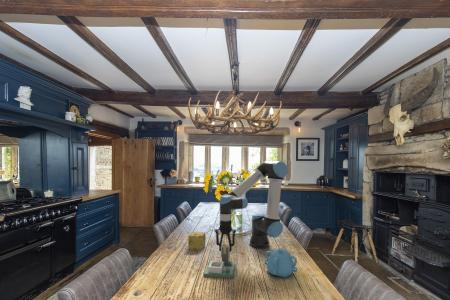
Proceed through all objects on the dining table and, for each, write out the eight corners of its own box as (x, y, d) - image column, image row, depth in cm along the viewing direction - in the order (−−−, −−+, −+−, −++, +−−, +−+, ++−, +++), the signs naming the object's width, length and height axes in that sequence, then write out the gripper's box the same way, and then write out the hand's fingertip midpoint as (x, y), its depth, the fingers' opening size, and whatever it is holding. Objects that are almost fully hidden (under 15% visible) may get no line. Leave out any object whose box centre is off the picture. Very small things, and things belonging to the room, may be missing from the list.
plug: (229, 258, 160) (229, 243, 160) (227, 262, 154) (228, 246, 155) (222, 258, 161) (222, 243, 161) (221, 262, 155) (221, 246, 155)
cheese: (201, 250, 175) (201, 236, 175) (187, 249, 177) (187, 235, 177) (205, 245, 185) (205, 232, 185) (192, 244, 187) (192, 231, 187)
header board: (235, 264, 153) (235, 257, 153) (232, 278, 135) (232, 270, 135) (210, 262, 155) (210, 255, 155) (203, 276, 137) (203, 268, 137)
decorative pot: (299, 279, 135) (299, 254, 135) (271, 280, 133) (271, 255, 133) (288, 266, 151) (289, 244, 151) (263, 267, 149) (263, 244, 150)
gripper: (239, 218, 161) (239, 254, 160) (213, 217, 163) (213, 253, 163) (238, 221, 153) (238, 259, 153) (211, 220, 156) (211, 257, 155)
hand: (225, 256), depth 158 cm, fingers closed on plug, 4 cm apart
